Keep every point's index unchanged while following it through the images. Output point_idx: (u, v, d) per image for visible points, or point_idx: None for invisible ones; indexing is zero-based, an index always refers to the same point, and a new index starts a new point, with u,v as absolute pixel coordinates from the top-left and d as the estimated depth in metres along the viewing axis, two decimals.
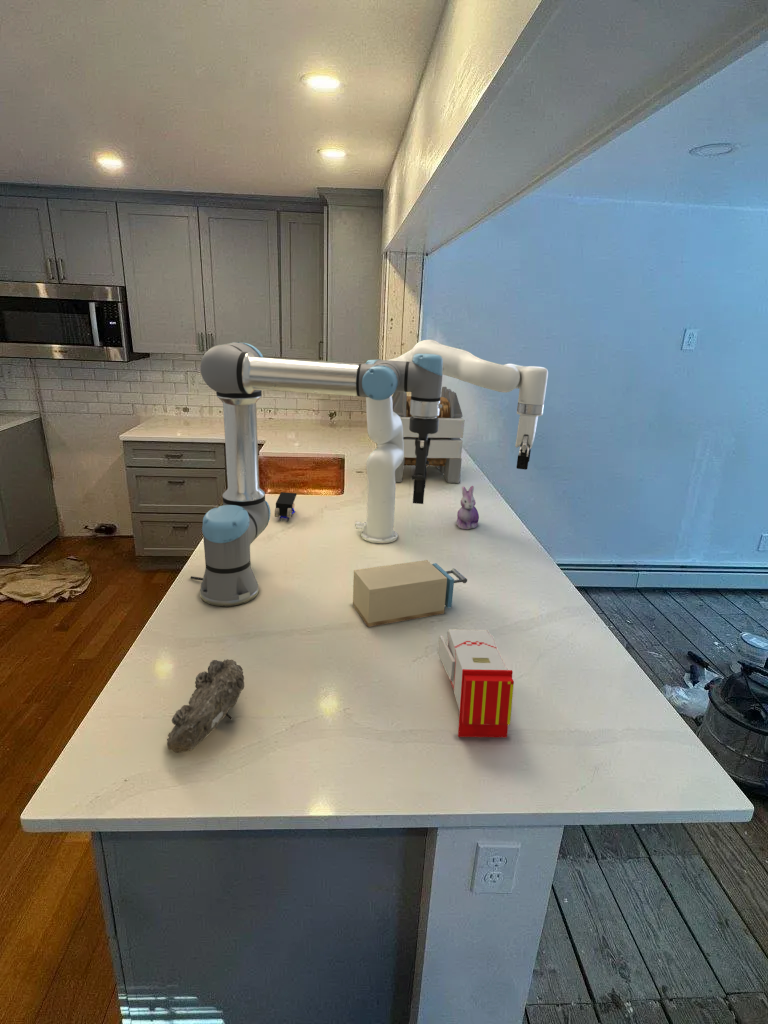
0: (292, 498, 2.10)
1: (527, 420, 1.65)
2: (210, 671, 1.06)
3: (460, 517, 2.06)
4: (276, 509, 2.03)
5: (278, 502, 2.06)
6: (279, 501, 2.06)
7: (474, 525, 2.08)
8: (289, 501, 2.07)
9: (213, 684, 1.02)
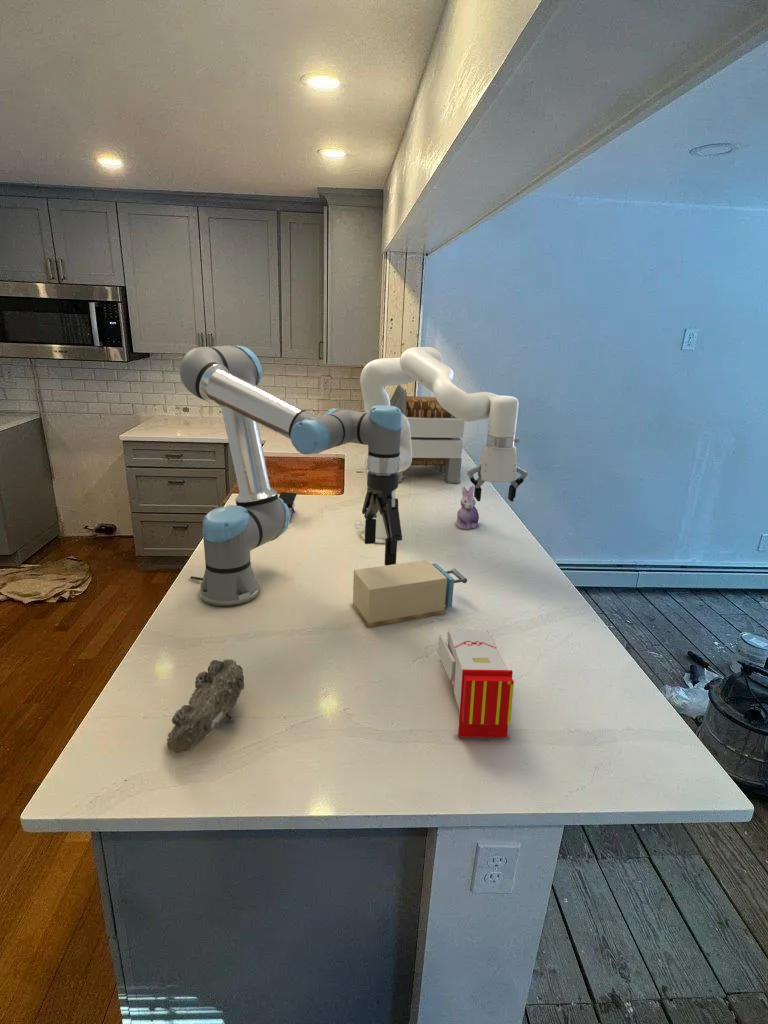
0: (292, 498, 2.10)
1: (483, 449, 1.57)
2: (210, 671, 1.06)
3: (460, 517, 2.06)
4: None
5: None
6: None
7: (474, 525, 2.08)
8: (289, 501, 2.07)
9: (213, 684, 1.02)
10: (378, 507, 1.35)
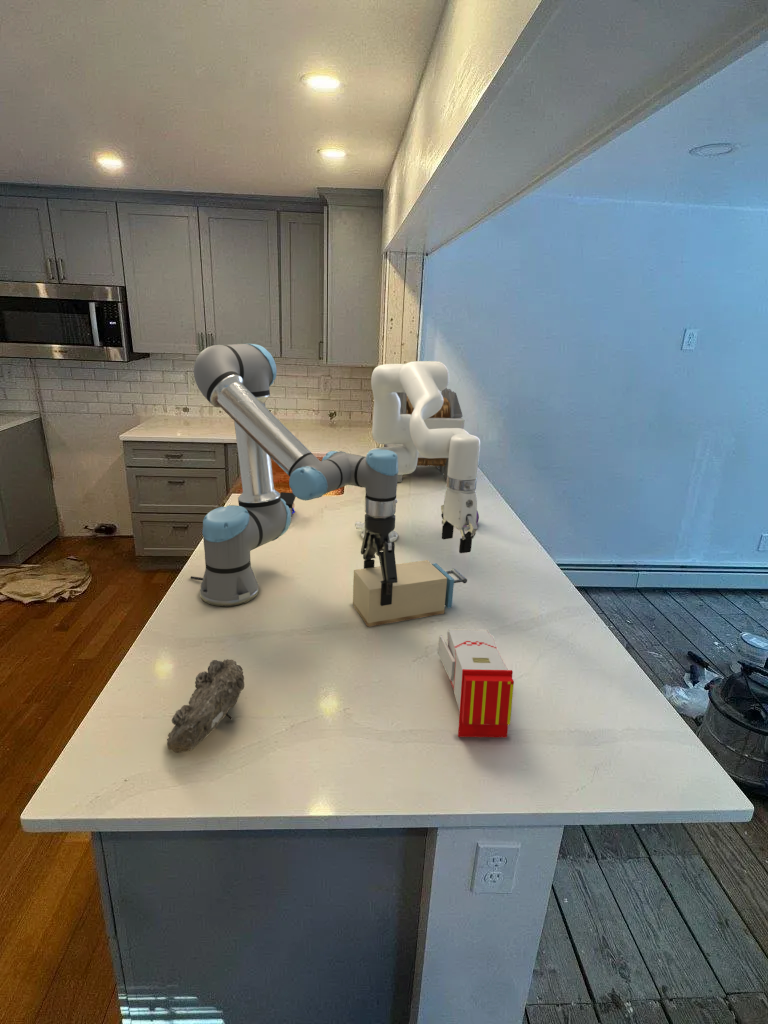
0: (292, 498, 2.10)
1: None
2: (210, 671, 1.06)
3: None
4: None
5: None
6: None
7: None
8: (289, 501, 2.07)
9: (213, 684, 1.02)
10: (375, 548, 1.39)
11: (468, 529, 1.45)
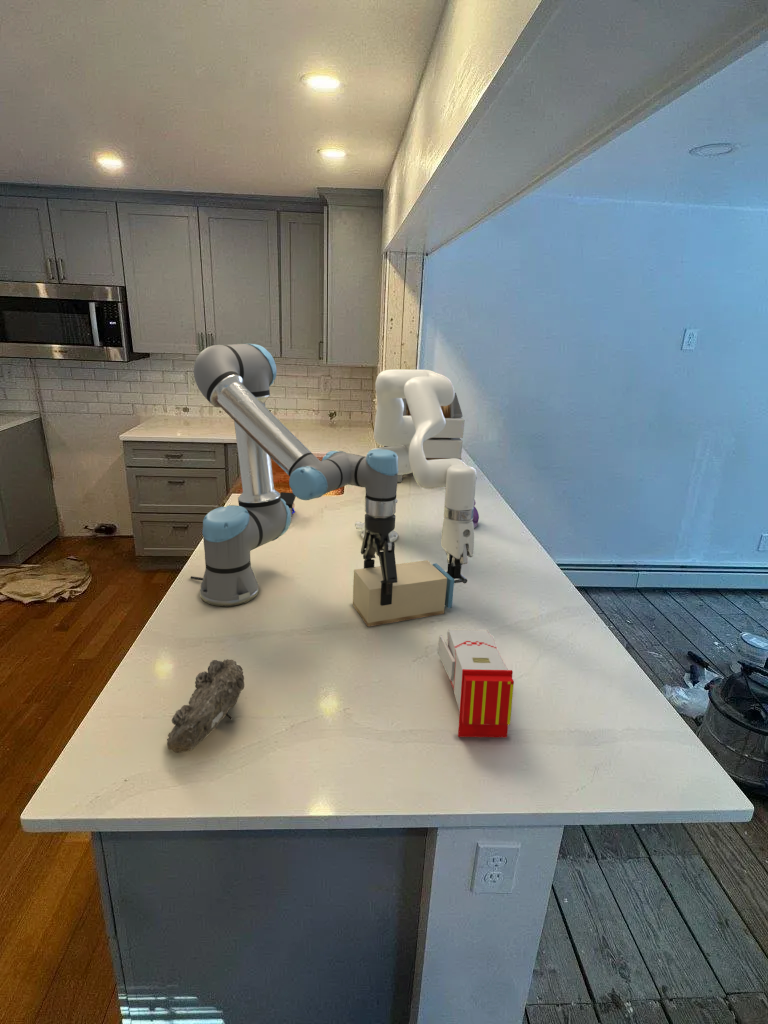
0: (292, 498, 2.10)
1: None
2: (210, 671, 1.06)
3: None
4: None
5: None
6: None
7: (474, 525, 2.08)
8: (289, 501, 2.07)
9: (213, 684, 1.02)
10: (375, 548, 1.39)
11: (460, 556, 1.49)
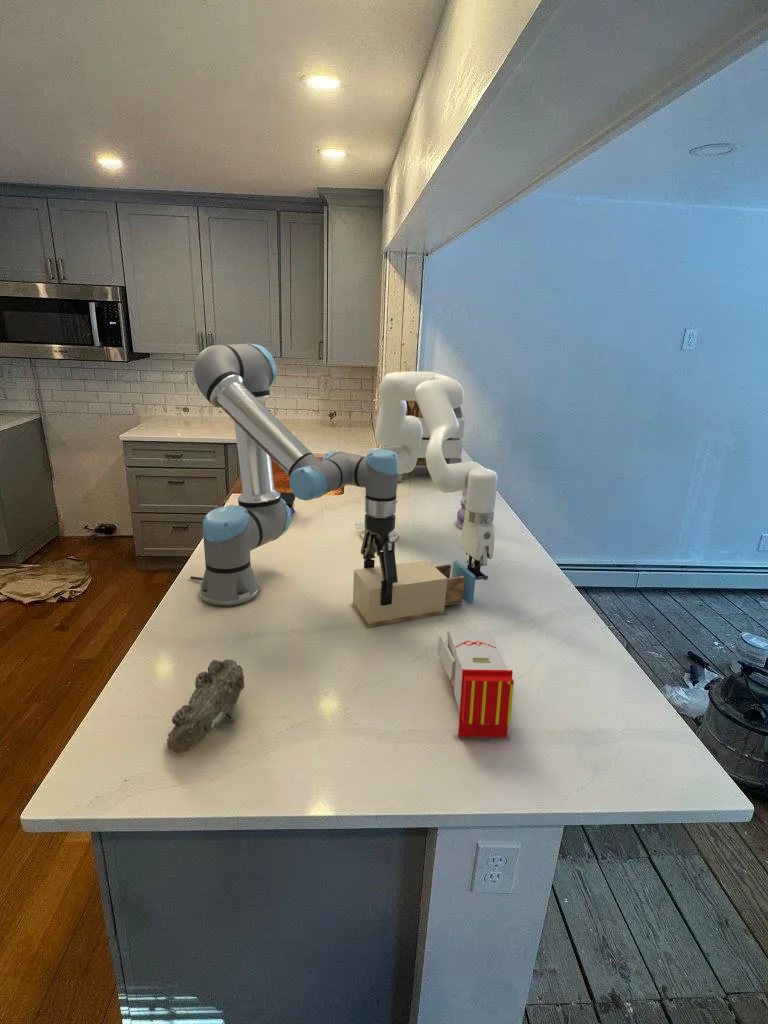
0: (292, 498, 2.10)
1: None
2: (210, 671, 1.06)
3: (460, 517, 2.06)
4: None
5: None
6: None
7: None
8: (289, 501, 2.07)
9: (213, 684, 1.02)
10: (375, 548, 1.39)
11: (480, 558, 1.53)
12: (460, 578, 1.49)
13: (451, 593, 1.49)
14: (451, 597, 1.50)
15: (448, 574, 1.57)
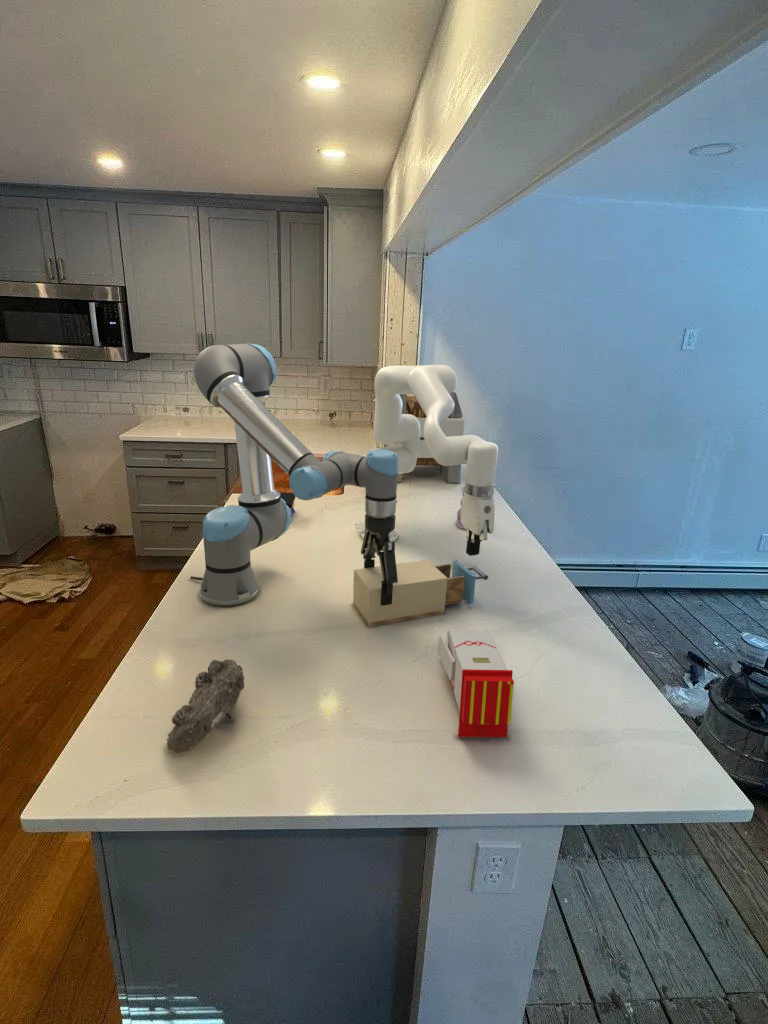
0: (292, 498, 2.10)
1: None
2: (210, 671, 1.06)
3: (460, 517, 2.06)
4: None
5: None
6: None
7: None
8: (289, 501, 2.07)
9: (213, 684, 1.02)
10: (375, 548, 1.39)
11: None
12: (460, 578, 1.49)
13: (451, 593, 1.49)
14: (451, 597, 1.50)
15: (448, 574, 1.57)
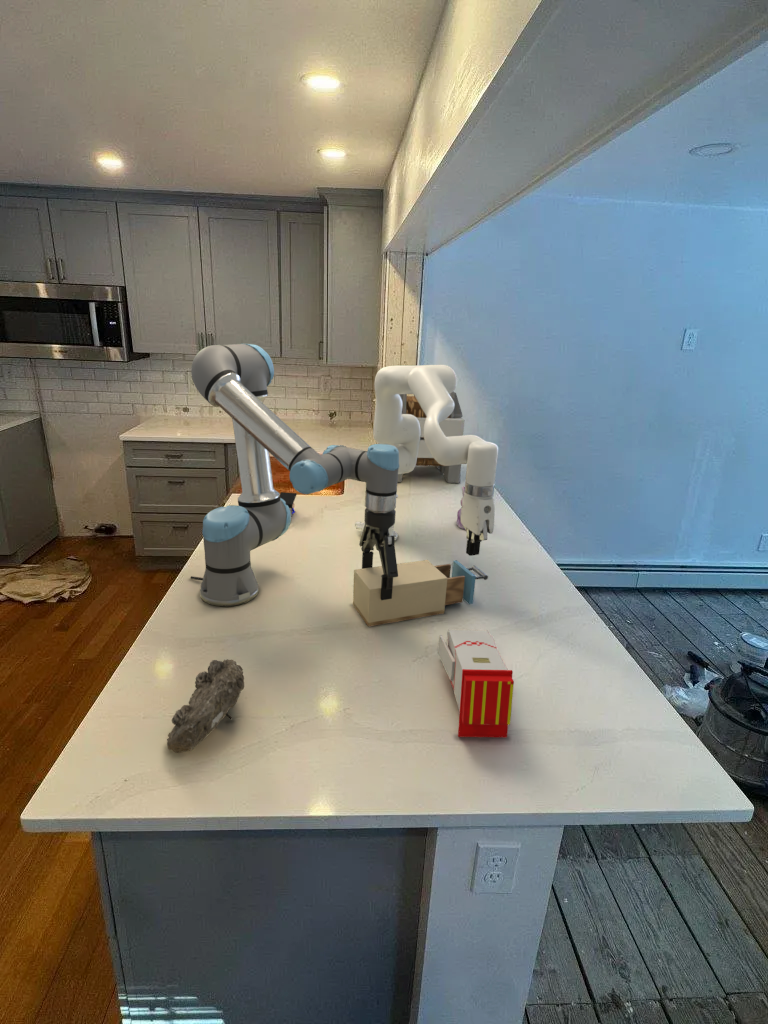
0: (292, 498, 2.10)
1: None
2: (210, 671, 1.06)
3: (460, 517, 2.06)
4: None
5: None
6: None
7: None
8: (289, 501, 2.07)
9: (213, 684, 1.02)
10: (375, 543, 1.38)
11: None
12: (460, 578, 1.49)
13: (451, 593, 1.50)
14: (451, 597, 1.50)
15: (448, 574, 1.57)
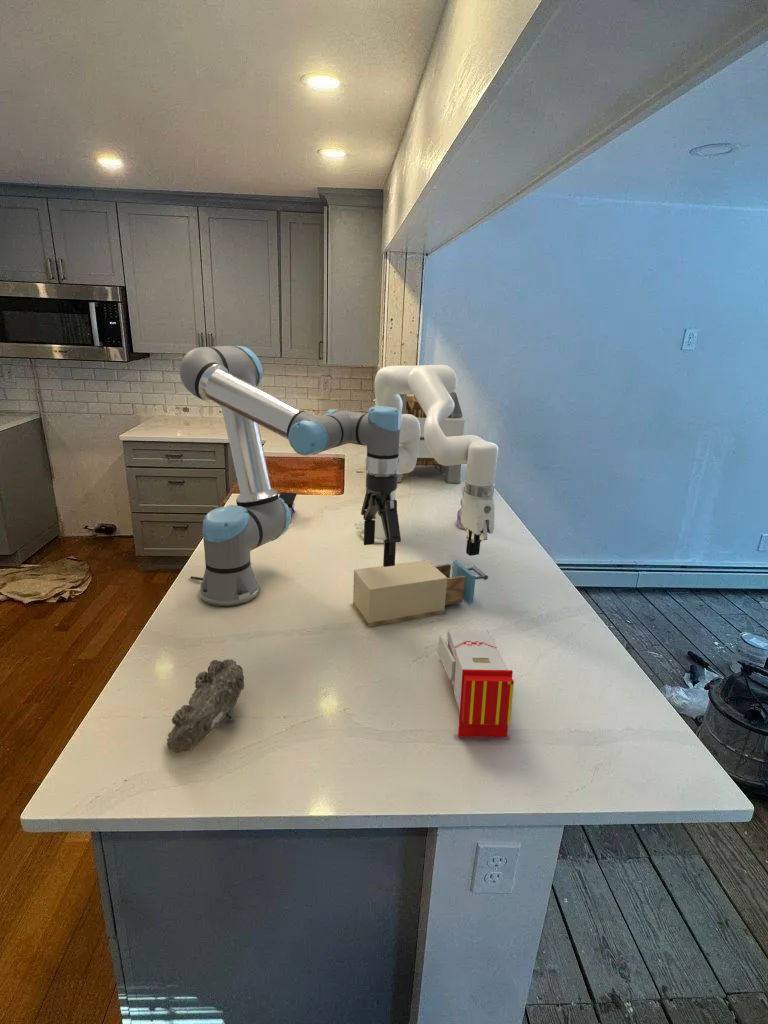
0: (292, 498, 2.10)
1: None
2: (210, 671, 1.06)
3: (460, 517, 2.06)
4: None
5: None
6: None
7: None
8: (289, 501, 2.07)
9: (213, 684, 1.02)
10: (377, 508, 1.35)
11: None
12: (460, 578, 1.49)
13: (451, 593, 1.50)
14: (451, 597, 1.50)
15: (448, 574, 1.57)
